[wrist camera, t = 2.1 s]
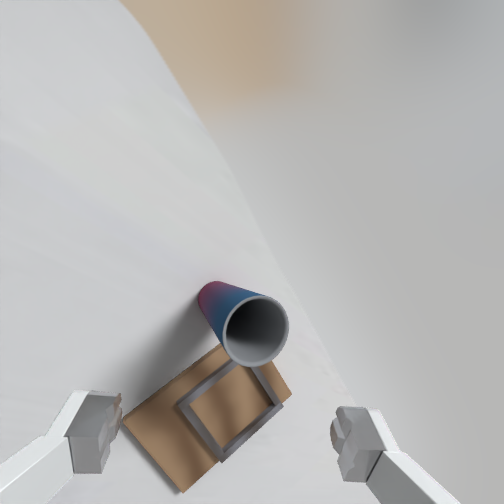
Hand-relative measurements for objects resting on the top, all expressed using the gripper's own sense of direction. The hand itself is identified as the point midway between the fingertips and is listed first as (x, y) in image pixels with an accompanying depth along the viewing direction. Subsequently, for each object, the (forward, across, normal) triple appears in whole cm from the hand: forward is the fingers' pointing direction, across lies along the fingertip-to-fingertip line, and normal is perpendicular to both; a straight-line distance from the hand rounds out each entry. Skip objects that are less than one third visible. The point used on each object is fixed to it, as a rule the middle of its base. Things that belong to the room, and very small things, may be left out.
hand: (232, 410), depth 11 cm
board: (+22, -1, +27) cm, 35 cm away
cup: (+27, +1, +13) cm, 30 cm away
